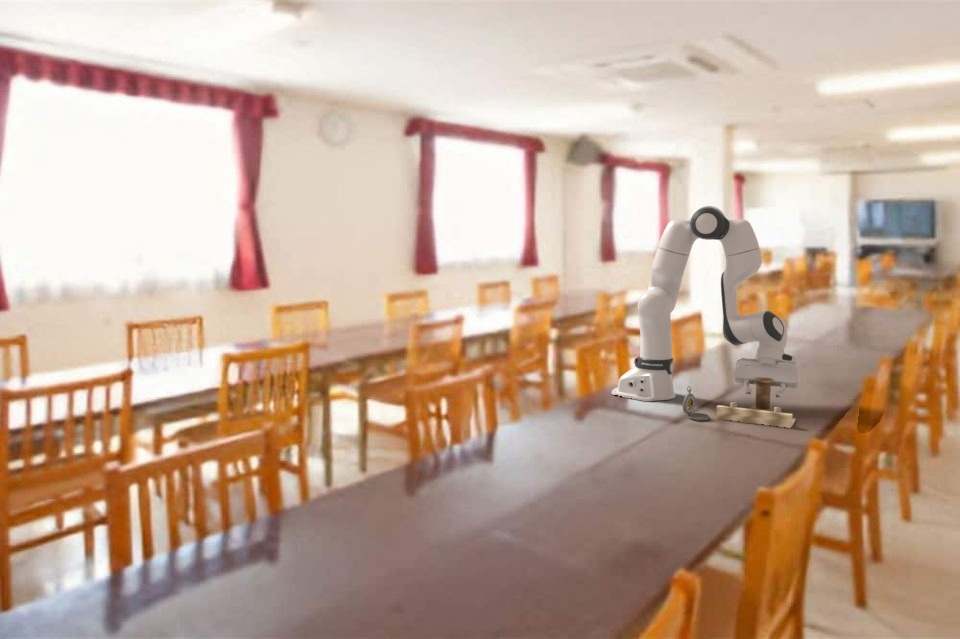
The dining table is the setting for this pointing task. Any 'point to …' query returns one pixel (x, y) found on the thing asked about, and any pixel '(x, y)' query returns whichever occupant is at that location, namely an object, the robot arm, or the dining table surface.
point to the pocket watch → (691, 401)
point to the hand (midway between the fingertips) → (762, 394)
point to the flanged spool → (763, 394)
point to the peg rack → (755, 415)
